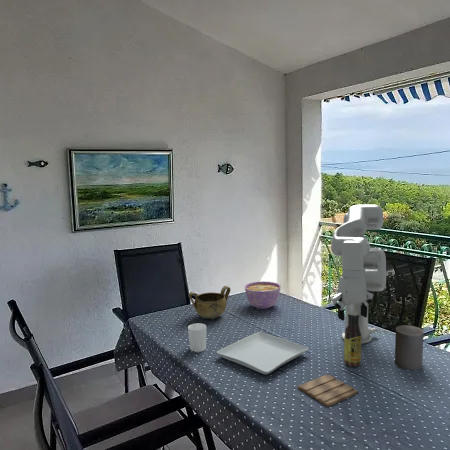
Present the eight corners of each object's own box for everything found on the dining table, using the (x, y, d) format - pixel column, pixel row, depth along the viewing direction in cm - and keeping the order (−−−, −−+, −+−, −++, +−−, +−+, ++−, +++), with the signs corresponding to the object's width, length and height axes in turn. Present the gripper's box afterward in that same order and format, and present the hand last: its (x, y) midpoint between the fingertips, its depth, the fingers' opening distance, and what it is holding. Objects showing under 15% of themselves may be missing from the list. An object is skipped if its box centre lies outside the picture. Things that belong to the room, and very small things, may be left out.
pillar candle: (389, 361, 160) (389, 324, 158) (407, 356, 164) (408, 320, 161) (409, 373, 151) (410, 333, 149) (428, 367, 155) (430, 328, 153)
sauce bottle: (352, 369, 155) (352, 318, 153) (340, 362, 161) (340, 313, 158) (365, 364, 158) (365, 314, 156) (353, 358, 164) (353, 309, 161)
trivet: (327, 376, 151) (327, 373, 150) (357, 393, 139) (357, 390, 139) (297, 388, 143) (297, 385, 143) (327, 406, 132) (327, 403, 131)
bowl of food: (288, 305, 230) (288, 285, 229) (266, 315, 216) (265, 293, 215) (260, 298, 244) (259, 279, 243) (237, 307, 230) (236, 287, 228)
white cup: (210, 346, 180) (209, 324, 179) (202, 354, 173) (200, 331, 172) (194, 344, 184) (193, 322, 182) (185, 351, 177) (184, 328, 175)
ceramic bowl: (224, 308, 229) (223, 282, 227) (237, 318, 214) (236, 289, 212) (185, 315, 220) (184, 288, 218) (196, 326, 205) (195, 296, 203)
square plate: (259, 338, 188) (258, 330, 187) (310, 356, 168) (310, 347, 168) (215, 359, 169) (214, 350, 168) (267, 381, 150) (267, 371, 149)
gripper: (366, 269, 161) (366, 312, 163) (326, 273, 156) (327, 317, 158) (378, 273, 154) (378, 318, 155) (337, 277, 149) (337, 324, 151)
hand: (352, 317), depth 157 cm, fingers open, 9 cm apart
